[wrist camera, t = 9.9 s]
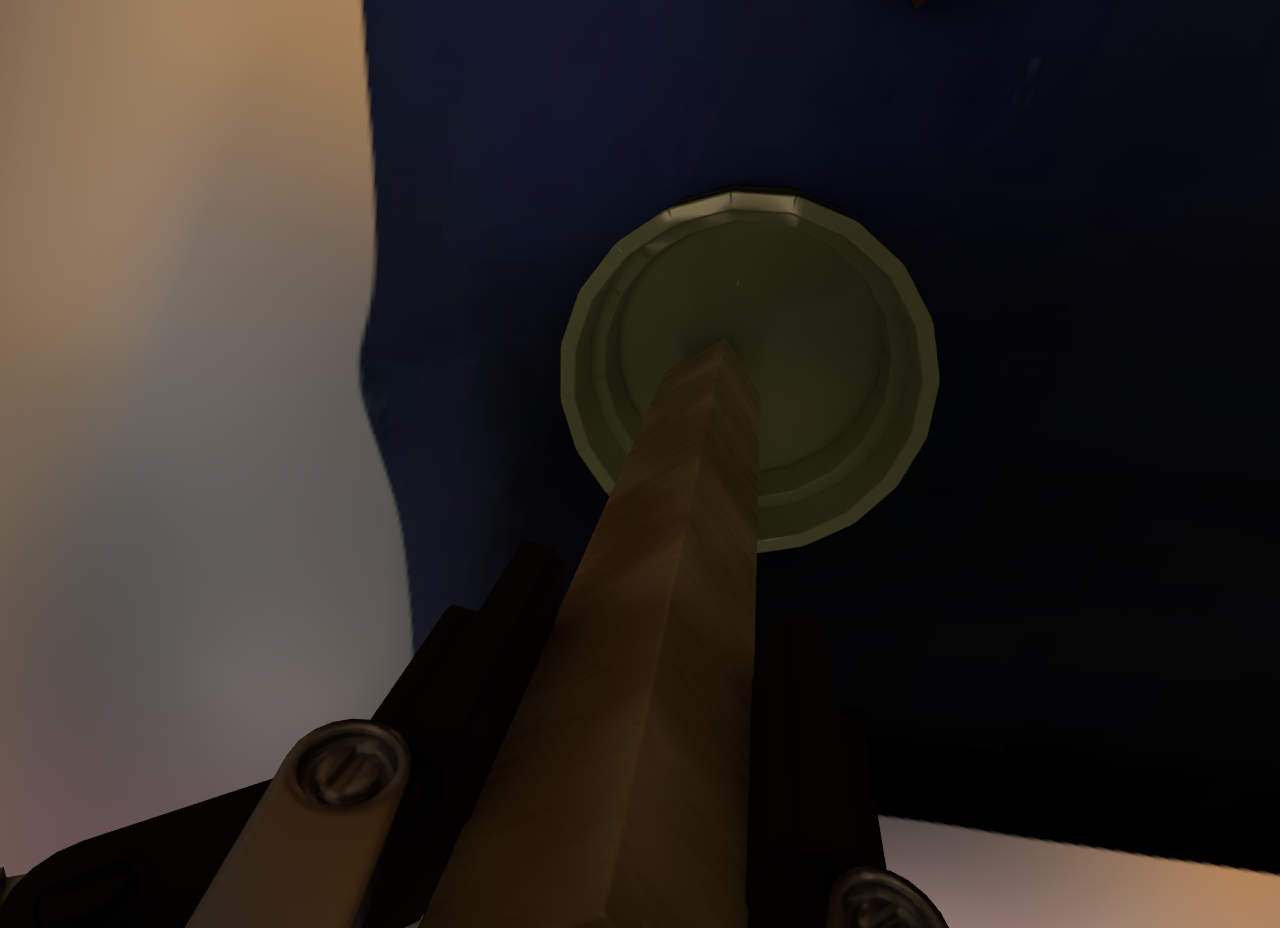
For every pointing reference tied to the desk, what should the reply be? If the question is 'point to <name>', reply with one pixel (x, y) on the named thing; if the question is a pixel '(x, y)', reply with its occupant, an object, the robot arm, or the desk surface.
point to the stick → (636, 696)
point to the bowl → (762, 348)
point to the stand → (918, 2)
